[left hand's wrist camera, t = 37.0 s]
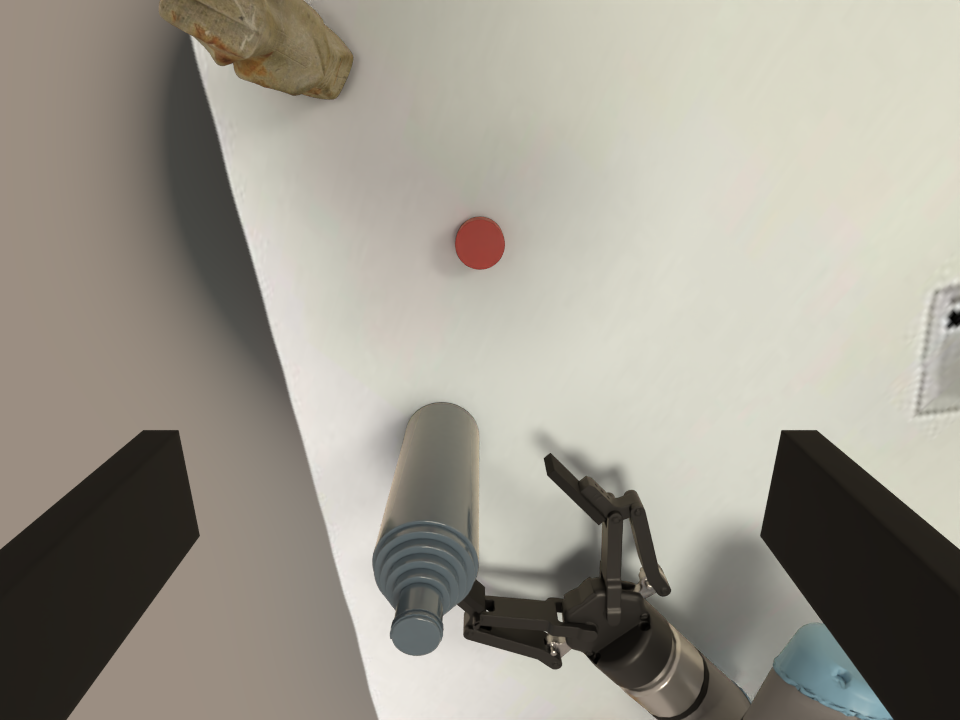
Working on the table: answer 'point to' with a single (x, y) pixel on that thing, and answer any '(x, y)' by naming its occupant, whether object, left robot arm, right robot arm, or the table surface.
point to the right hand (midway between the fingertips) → (487, 511)
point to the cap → (479, 243)
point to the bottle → (430, 526)
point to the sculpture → (267, 42)
